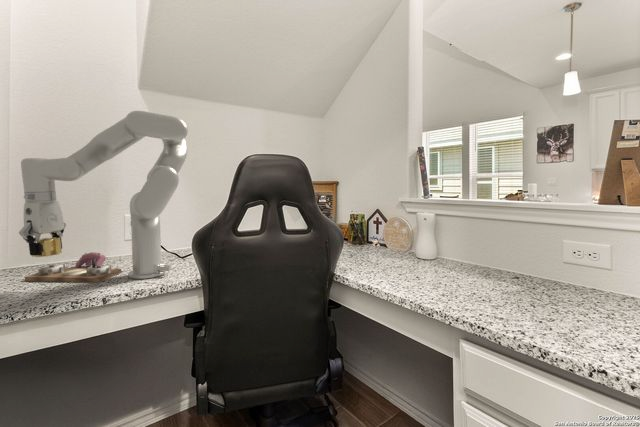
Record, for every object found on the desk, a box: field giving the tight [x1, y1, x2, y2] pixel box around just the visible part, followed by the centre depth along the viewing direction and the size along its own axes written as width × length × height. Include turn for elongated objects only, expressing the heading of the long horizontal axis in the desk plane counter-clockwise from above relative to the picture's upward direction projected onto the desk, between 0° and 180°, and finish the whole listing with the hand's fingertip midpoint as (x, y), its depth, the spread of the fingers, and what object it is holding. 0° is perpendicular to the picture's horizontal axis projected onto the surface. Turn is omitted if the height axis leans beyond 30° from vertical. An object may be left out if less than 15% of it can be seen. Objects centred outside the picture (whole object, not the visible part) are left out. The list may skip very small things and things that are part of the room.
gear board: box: [24, 259, 123, 283], centre depth 116 cm, size 26×12×6 cm, turn 91°
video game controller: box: [75, 251, 107, 268], centre depth 130 cm, size 10×5×7 cm, turn 85°
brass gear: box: [31, 236, 63, 258], centre depth 103 cm, size 7×7×5 cm
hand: (46, 251), depth 103 cm, fingers closed on brass gear, 7 cm apart
